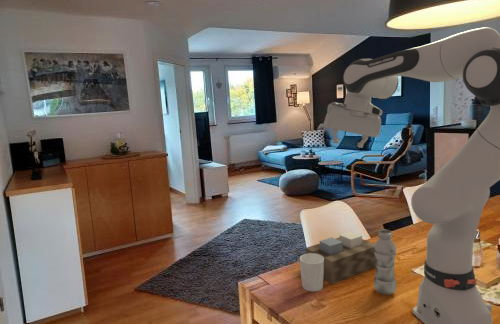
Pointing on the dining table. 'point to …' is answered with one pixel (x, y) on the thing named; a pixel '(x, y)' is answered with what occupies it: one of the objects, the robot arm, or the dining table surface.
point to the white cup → (312, 271)
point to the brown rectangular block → (346, 261)
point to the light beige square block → (351, 239)
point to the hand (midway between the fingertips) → (347, 145)
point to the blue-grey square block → (331, 246)
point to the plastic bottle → (385, 263)
